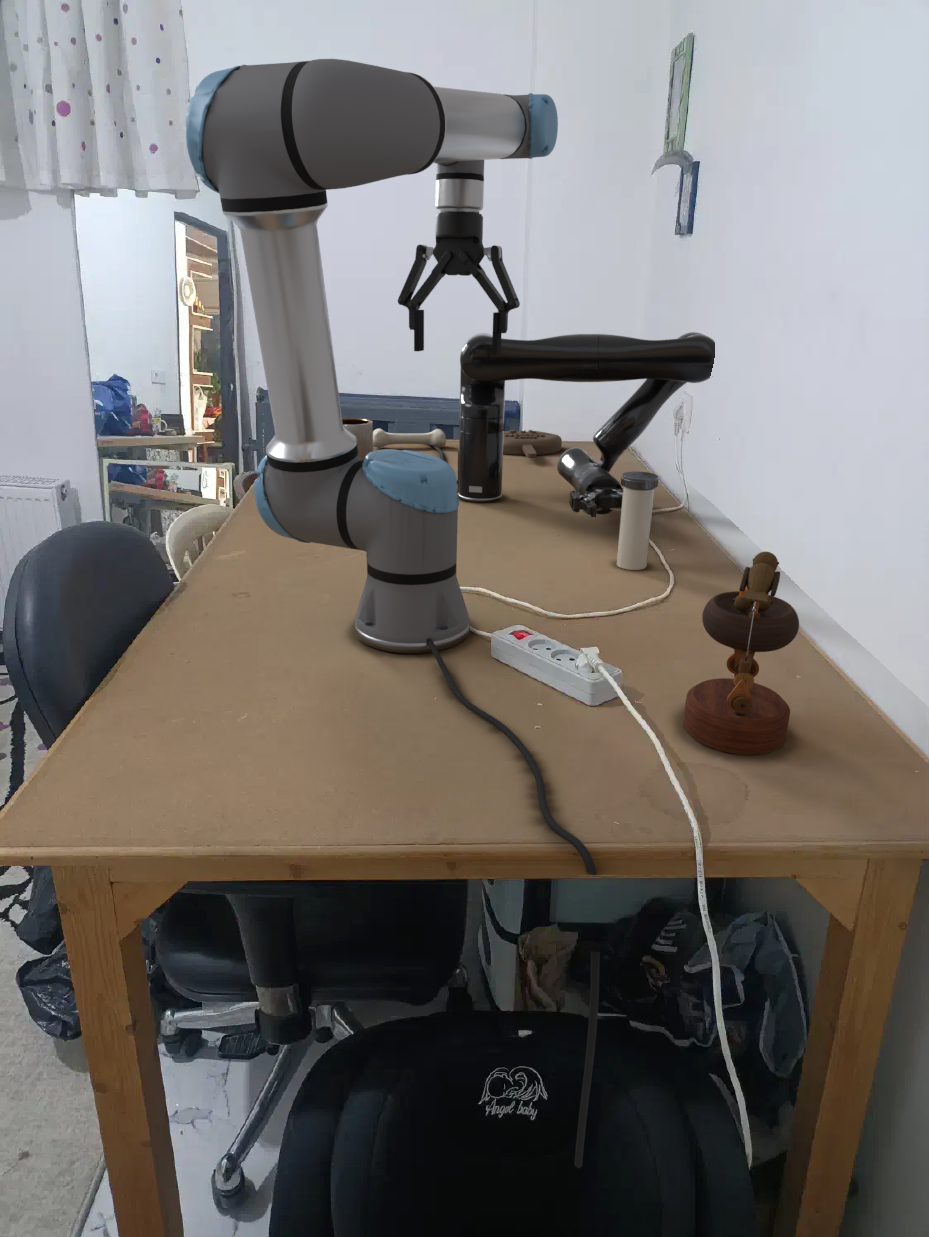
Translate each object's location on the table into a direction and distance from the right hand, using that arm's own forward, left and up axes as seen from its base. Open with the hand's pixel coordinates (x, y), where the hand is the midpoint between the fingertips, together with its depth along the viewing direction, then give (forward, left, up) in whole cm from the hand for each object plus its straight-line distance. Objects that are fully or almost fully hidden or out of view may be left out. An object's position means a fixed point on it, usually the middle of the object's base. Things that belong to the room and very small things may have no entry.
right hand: (618, 511), depth 149 cm
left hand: (-16, -24, +26) cm, 39 cm away
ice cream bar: (-76, +30, -6) cm, 81 cm away
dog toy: (-96, +5, -6) cm, 96 cm away
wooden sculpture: (+58, -30, -6) cm, 66 cm away
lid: (+10, -5, +9) cm, 15 cm away
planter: (-87, -15, -6) cm, 88 cm away
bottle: (+10, -5, -6) cm, 13 cm away
